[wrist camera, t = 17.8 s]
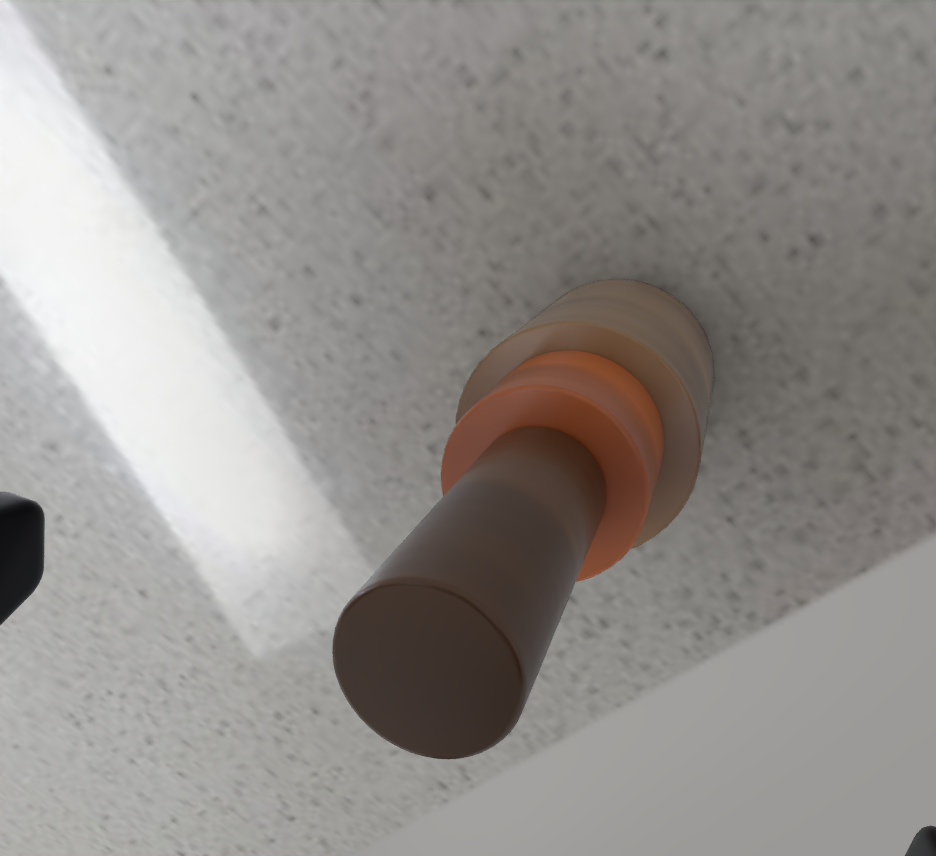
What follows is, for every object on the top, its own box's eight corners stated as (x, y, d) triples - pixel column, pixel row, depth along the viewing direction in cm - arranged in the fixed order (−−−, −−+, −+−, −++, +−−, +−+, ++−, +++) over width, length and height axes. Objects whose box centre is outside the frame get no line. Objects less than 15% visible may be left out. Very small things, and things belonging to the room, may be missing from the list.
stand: (703, 472, 20) (687, 576, 15) (521, 449, 21) (452, 539, 16) (724, 285, 19) (715, 332, 14) (529, 272, 20) (456, 311, 15)
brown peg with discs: (656, 534, 15) (577, 848, 8) (482, 509, 16) (283, 772, 9) (673, 358, 14) (600, 548, 7) (487, 341, 15) (268, 496, 8)
